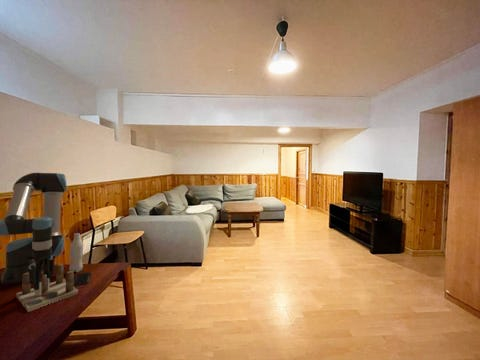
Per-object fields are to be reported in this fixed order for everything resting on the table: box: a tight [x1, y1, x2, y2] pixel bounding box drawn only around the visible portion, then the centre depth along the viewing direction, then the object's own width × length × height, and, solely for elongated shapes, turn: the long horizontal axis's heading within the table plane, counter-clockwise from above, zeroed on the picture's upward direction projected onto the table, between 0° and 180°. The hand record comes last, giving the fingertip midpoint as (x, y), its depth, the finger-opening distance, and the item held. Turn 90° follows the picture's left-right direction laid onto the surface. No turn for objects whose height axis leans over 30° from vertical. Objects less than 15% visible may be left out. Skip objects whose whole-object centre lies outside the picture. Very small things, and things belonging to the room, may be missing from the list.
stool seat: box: [16, 263, 79, 313], centre depth 116 cm, size 20×20×12 cm
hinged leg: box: [40, 273, 58, 298], centre depth 113 cm, size 4×10×10 cm, turn 78°
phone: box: [73, 272, 92, 287], centre depth 135 cm, size 8×1×15 cm
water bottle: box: [68, 232, 84, 273], centre depth 144 cm, size 7×7×25 cm
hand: (42, 292), depth 114 cm, fingers open, 4 cm apart
